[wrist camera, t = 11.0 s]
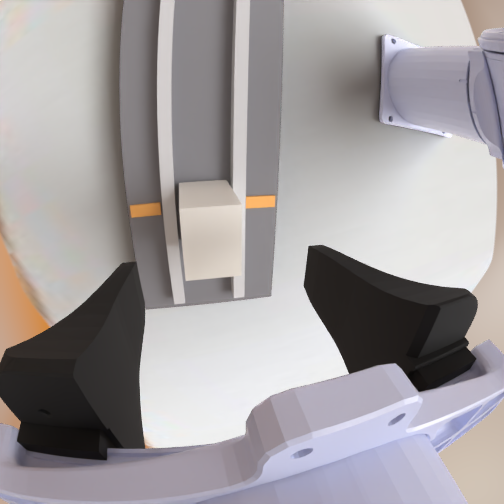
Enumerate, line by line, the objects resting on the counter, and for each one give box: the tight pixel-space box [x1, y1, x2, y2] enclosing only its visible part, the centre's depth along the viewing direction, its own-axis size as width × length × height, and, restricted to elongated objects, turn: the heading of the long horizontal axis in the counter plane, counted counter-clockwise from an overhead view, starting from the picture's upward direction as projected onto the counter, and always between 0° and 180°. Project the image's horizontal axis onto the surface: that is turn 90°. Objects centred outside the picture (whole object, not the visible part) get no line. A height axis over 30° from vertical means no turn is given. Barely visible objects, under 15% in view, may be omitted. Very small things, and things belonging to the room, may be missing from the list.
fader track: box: [119, 0, 284, 309], centre depth 16 cm, size 10×30×3 cm, turn 179°
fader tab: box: [179, 180, 242, 281], centre depth 17 cm, size 3×4×5 cm
